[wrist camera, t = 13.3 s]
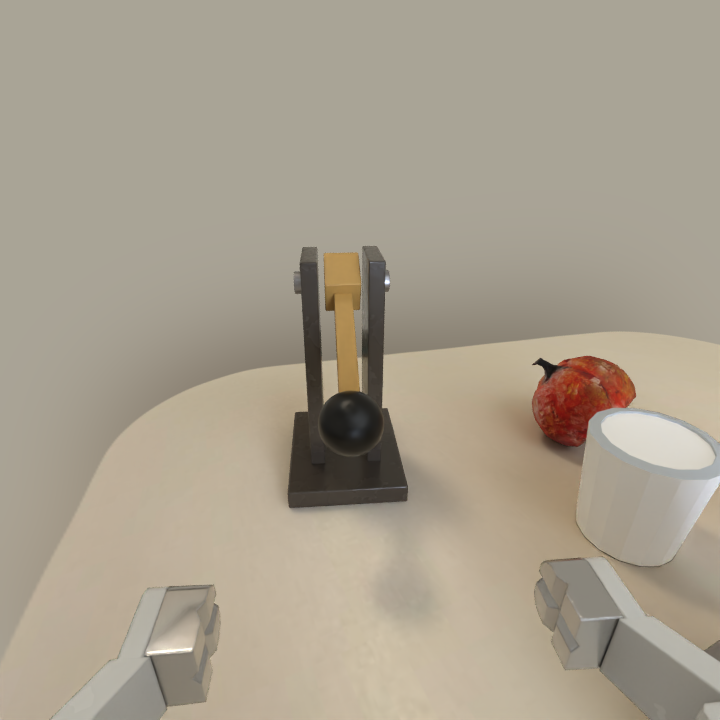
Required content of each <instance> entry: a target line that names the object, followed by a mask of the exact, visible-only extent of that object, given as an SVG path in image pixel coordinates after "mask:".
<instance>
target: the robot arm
mask: <svg viewBox="0 0 720 720" xmlns="http://www.w3.org/2000/svg"><path fill="white" fill-rule="evenodd" d="M539 572H540V574H541V576H542V578H541V579H540V580H539V581H538V582H537V583H536V586H535V591H534V596H535V605H536V608H537V611H538V614H539V616H540V619H541V621H542V623H543V624H544V625H545V626H546V627H547V628H549V629H550V630H551V631H552V632H553V636H552V641H551V642H552V644H553V647H554V649H555V651H556V653H557V655H558V657H559V659H560V661H561V663H562V665H563V668H564V670H577V669H595V668H600V671H601V672H602V673H603V674H604V675H605V676H606V677H607V678H608V679H609V680H610V681H611V682H612V683H613V684H614V685H615V686H616V687H617V688H618V689H619V690H620V691H621V692H622V693H623V694H625V695H626V696H627V697H628V698H629V699H630V700H631V701H632V702H633V703H634V704H635V705H636V706H637V707H638V708H639V709H640V710H641V711H642V712H643V713H644V714H645V715H646V716H647V717H648V718H649V719H650V720H720V662H719V661H718V660H716V659H715V658H713V657H712V656H711V655H709V654H708V653H706V652H705V651H703V650H702V649H700V648H699V647H697V646H696V645H694V644H693V643H691V642H690V641H688V640H687V639H686V638H684V637H683V636H681V635H680V634H678V633H677V632H675V631H674V630H672V629H671V628H669V627H668V626H666V625H665V624H664V623H662V622H661V621H659V620H658V619H656V618H655V617H653V616H646V614H645V613H644V612H643V610H642V609H641V607H640V606H639V604H638V603H637V602H636V600H635V599H634V597H633V596H632V595H631V593H630V592H629V590H628V589H627V587H626V586H625V585H624V583H623V582H622V580H621V579H620V578H619V576H618V575H617V573H616V572H615V570H614V569H613V568H612V566H611V565H610V563H609V562H608V561H607V560H606V559H605V558H604V557H589V558H570V559H558V560H547V561H544V562H542V563H541V566H540V570H539ZM215 597H216V591H215V587H214V585H193V586H169V587H152V588H147V589H146V591H145V592H144V593H143V595H142V597H141V600H140V602H139V605H138V607H137V610H136V612H135V615H134V617H133V620H132V622H131V625H130V627H129V630H128V632H127V635H126V637H125V640H124V642H123V645H122V648H121V650H120V653H119V655H118V658H117V659H113V660H109V661H108V662H107V663H106V664H105V665H104V666H103V667H102V668H101V669H100V670H99V671H98V672H97V673H96V674H95V675H94V676H93V677H92V678H91V679H90V680H89V681H88V682H87V683H86V684H85V685H84V686H83V687H82V688H81V689H80V690H79V691H78V692H77V693H76V694H75V695H74V696H73V697H72V698H71V699H70V700H69V701H68V702H67V703H66V704H65V705H64V706H63V707H62V708H61V709H60V710H59V711H58V712H57V713H56V714H55V715H54V716H53V717H52V718H51V719H50V720H160V718H161V717H162V716H163V714H164V713H165V711H166V710H167V707H168V706H177V705H185V704H193V703H202V702H206V700H207V695H208V690H209V686H210V681H211V676H212V671H213V669H212V665H211V660H210V657H211V656H212V655H213V654H214V653H215V651H216V650H217V646H218V641H219V634H220V611H219V606H218V605H216V604H215V603H214V601H215Z"/></svg>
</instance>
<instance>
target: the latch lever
mask: <svg viewBox="0 0 720 720" xmlns="http://www.w3.org/2000/svg"><path fill="white" fill-rule="evenodd" d="M324 279H325V308H326V311H335V331H336V351H337V371H338V391H339V393H338V394H336V395H334V396H332V397H331V398H330V399H329V400H328V401H327V402H326V403H325V404H324V406H323V407H322V409H321V411H320V414H319V418H318V430H319V434H320V437H321V439H322V441H323V442H324V444H325V445H326V446H327V447H328V448H329V449H330V450H331V451H332V452H334V453H336V454H338V455H340V456H344V457H358V456H362V455H364V454H366V453H368V452H370V451H371V450H372V449H373V448H374V447H375V446H376V445H377V444H378V442H379V441H380V439H381V437H382V434H383V430H384V418H383V414H382V411H381V409H380V407H379V405H378V404H377V403H376V401H375V400H374V399H372V398H371V397H370V396H368V395H367V394H365V393H362V392H360V387H359V374H358V362H357V350H356V338H355V326H354V313H353V310H359V309H360V296H361V277H360V266H359V256H358V253H324Z"/></svg>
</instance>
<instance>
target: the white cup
mask: <svg viewBox="0 0 720 720" xmlns="http://www.w3.org/2000/svg"><path fill="white" fill-rule="evenodd" d="M719 484H720V444H719V443H718V442H717V441H716V440H715V439H713V438H712V437H711V436H710V435H708V434H707V433H706V432H704V431H702V430H700V429H698V428H696V427H694V426H693V425H691V424H689V423H687V422H685V421H683V420H680V419H677V418H674V417H671V416H668V415H665V414H662V413H659V412H654V411H648V410H642V409H637V408H611V409H607V410H604V411H600V412H597V413H596V414H595V415H594V416H593V417H592V418H591V419H590V420H589V424H588V431H587V438H586V445H585V452H584V459H583V466H582V473H581V480H580V487H579V494H578V501H577V508H576V523H577V524H578V526H579V528H580V530H581V531H582V533H583V535H584V536H585V537H586V538H587V539H588V540H589V541H590V542H591V543H593V544H594V545H595V546H596V547H597V548H598V549H599V550H601V551H603V552H605V553H607V554H608V555H610V556H612V557H614V558H616V559H618V560H620V561H623V562H627V563H631V564H634V565H638V566H660V565H663V564H665V563H667V562H669V561H671V560H672V559H673V558H674V556H675V554H676V553H677V551H678V550H679V548H680V546H681V545H682V543H683V542H684V540H685V538H686V537H687V535H688V534H689V532H690V530H691V529H692V527H693V526H694V524H695V522H696V521H697V519H698V517H699V516H700V514H701V513H702V511H703V509H704V508H705V506H706V505H707V503H708V501H709V500H710V498H711V497H712V495H713V493H714V492H715V490H716V489H717V487H718V485H719Z"/></svg>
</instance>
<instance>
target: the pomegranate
mask: <svg viewBox="0 0 720 720" xmlns="http://www.w3.org/2000/svg"><path fill="white" fill-rule="evenodd" d="M536 364H538V365H540V366H542V367H543V368H544V370H545V375H544V376H543V377H542V379H541V380H540V381H539V384H538V387H537V390H536V391H535V393H534V396H533V400H532V408H533V413H534V417H535V420H536V421H537V423H538V425H539V426H540V428H541V429H542V430H543V432H544V433H545V434H546V436H548V437H549V438H551V439H552V440H554V441H556V442H558V443H561V444H563V445H565V446H576V447H578V446H580V445H581V444H582V443H584V442H585V441H586V438H587V431H588V424H589V420H590V419H591V418H592V417H593V416H594V415H595V414H596V413H597V412H600V411H604V410H607V409H611V408H626V407H627V406H629V404H630V403H631V402H632V400H633V399H634V398H636V393H635V387H634V384H633V382H632V381H631V379H630V378H629V377H628V375H627V374H626V373H625V372H624V371H623V370H622V369H620V368H619V367H618V365H615V364H613V363H611V362H609V361H607V360H604V359H600V358H596V357H592V356H583V357H577V358H572V359H567V360H563V361H562V362H560V363H559V364H558V365H552V364H550V363H549V362H547V361H545V360H543V359H542V358H540V359H538V360H537V361H536V362H535V363H533V364H532V365H536Z"/></svg>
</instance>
